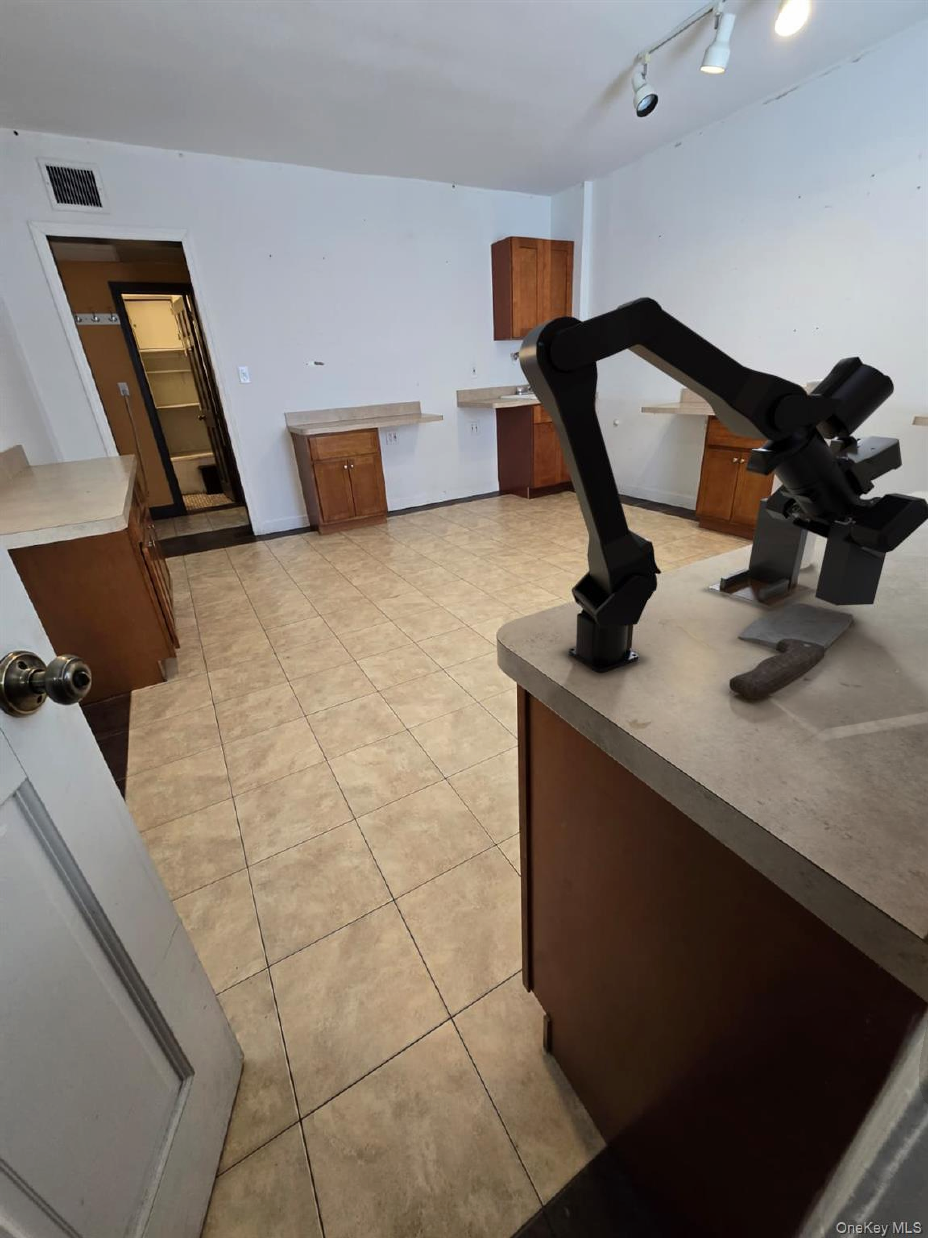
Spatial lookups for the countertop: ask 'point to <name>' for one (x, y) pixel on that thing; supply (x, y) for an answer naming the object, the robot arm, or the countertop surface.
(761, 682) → the cleaver
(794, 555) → the pad mount
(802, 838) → the countertop surface
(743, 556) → the countertop surface
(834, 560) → the back pad
